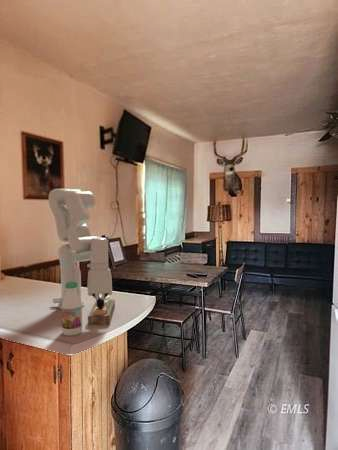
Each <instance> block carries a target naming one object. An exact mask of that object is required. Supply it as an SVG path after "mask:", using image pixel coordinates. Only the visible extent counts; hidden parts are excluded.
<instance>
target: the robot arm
mask: <svg viewBox="0 0 338 450" xmlns="http://www.w3.org/2000/svg"><path fill="white" fill-rule="evenodd" d="M48 204H49V208H50V210H51V212H52V214H53V217H54V221H55V226H56V231H57V237H58V239H59V241H61V242H62V243H65V244H63V245H61V246H60V247H59V249H58V251H57V253H58V254H57V255H58V260H59V266H60V291H61V292H60V293H61V296H60V297H59V298H57V297H56V298H55V297H53V298H52V303H54V304H58V307H57V308H58V309H60V310H62V302H63V299H64V296H65V294H66V289H65V288H66V287H65V284H66V283H68V282H77V284H78V286H77V292H78V295H79V297H80V299H81V303H82V308H83V307H84V306H85V302H84V301H83V300H82V279H81V278H82V275H81V274H82V273H81V269H80V268H79V266H78V265H77V264H76V263H80V262H88V261H90V262H89V263H87V264H86V266H87V268H89V269H88V273H87V296H91V297H93V298H94V299H95V301H96V300H97V307H98V309H102V308H103V307H104V299H105V297H106V296H108V295H110V296H111V295H113V293H114V292H113V281H112V279H113V278H112V272H111V269H110V268H109V241H108V239H107V238H106V237H100V236H97V235H96V236H95V235H94V236H93V235H91V231H90V228H89V226H88V225H87V223H88V222H89V221H90V219H91V215H90V213H89V210H88V209H93V208H94V207H95V205H96V198H95V196H94V194H93V193H92V192H91V191H88V190H86V189H80V188H54V189H52V190H51V191H50V192H49V193H48ZM65 206H66V207H65ZM100 295H102V297H101V299H100V297H99V296H100Z"/></svg>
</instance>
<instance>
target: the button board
mask: <svg viewBox="0 0 338 450" xmlns="http://www.w3.org/2000/svg"><path fill="white" fill-rule="evenodd" d="M115 300H116V299H113V298H112V299H110V304H109V308H108V309H107V314H106V315H93V310H94V308H95V307H96V302H97V300H96V299H95V302H94V304H93V305H92V308H91V310H90V311H89V313H88V316H87V325H88V326H91V327H92V326H110V324H111V322H112V319H113V315H114V312H115V308H116V302H115Z"/></svg>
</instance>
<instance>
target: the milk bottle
mask: <svg viewBox="0 0 338 450" xmlns="http://www.w3.org/2000/svg"><path fill="white" fill-rule="evenodd" d="M77 286H78V284H77V282H68V283H66V284H65V287H66V288H65V289H66V294H65V296H64V299H63V302H62V309H61V331H62V335H64V336H68V337H72V336H77V335H79V334H81V333H82V332H83V307H82V303H81V301H82V298H81V299H80V297H79V295H78V292H77Z"/></svg>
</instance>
